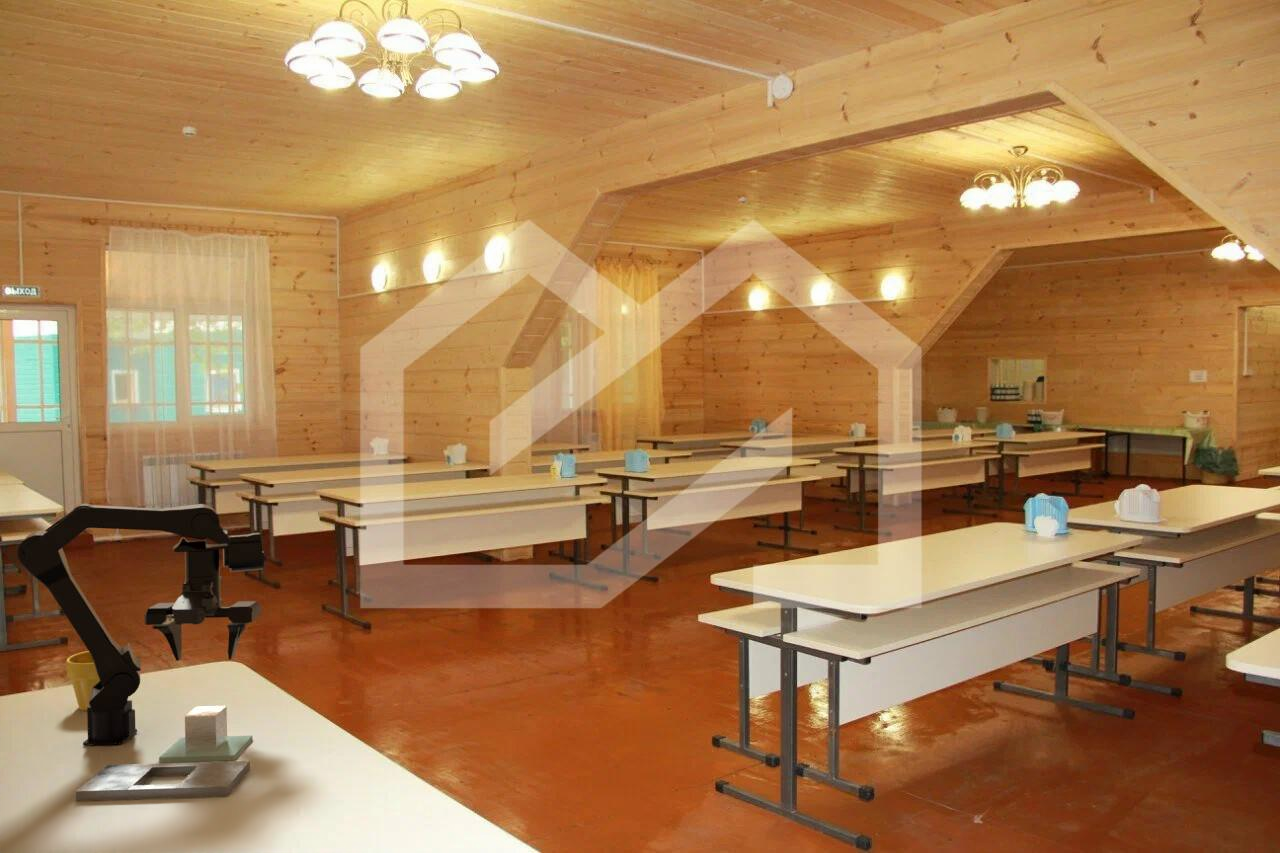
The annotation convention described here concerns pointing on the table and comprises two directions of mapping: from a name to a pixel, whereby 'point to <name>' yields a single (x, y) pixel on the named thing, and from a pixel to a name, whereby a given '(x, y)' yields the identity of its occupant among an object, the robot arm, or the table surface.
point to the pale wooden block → (206, 728)
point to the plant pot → (82, 676)
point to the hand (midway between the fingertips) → (204, 659)
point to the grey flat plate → (132, 777)
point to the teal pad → (225, 752)
